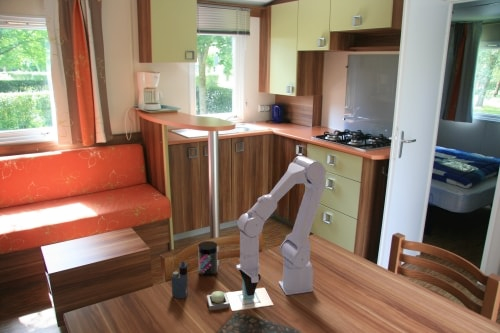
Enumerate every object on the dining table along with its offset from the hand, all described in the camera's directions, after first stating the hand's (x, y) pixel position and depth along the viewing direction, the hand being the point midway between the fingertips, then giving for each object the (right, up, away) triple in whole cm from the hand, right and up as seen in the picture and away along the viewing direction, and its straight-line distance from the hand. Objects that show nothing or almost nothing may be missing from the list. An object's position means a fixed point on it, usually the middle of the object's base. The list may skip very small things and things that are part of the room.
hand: (249, 291), depth 127 cm
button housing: (-10, -3, -2) cm, 10 cm away
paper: (0, -3, +1) cm, 3 cm away
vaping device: (-22, -2, +2) cm, 22 cm away
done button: (-10, -2, -2) cm, 10 cm away
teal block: (0, -2, 0) cm, 2 cm away
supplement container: (-15, +1, +17) cm, 23 cm away
